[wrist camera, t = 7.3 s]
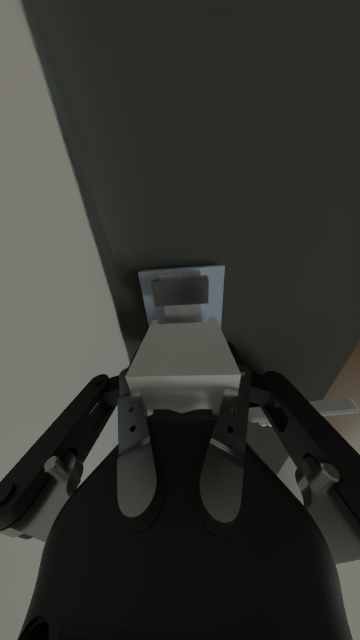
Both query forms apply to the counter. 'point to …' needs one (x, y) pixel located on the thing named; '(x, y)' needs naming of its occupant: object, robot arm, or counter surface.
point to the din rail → (182, 309)
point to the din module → (183, 367)
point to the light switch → (321, 406)
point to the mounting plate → (207, 310)
